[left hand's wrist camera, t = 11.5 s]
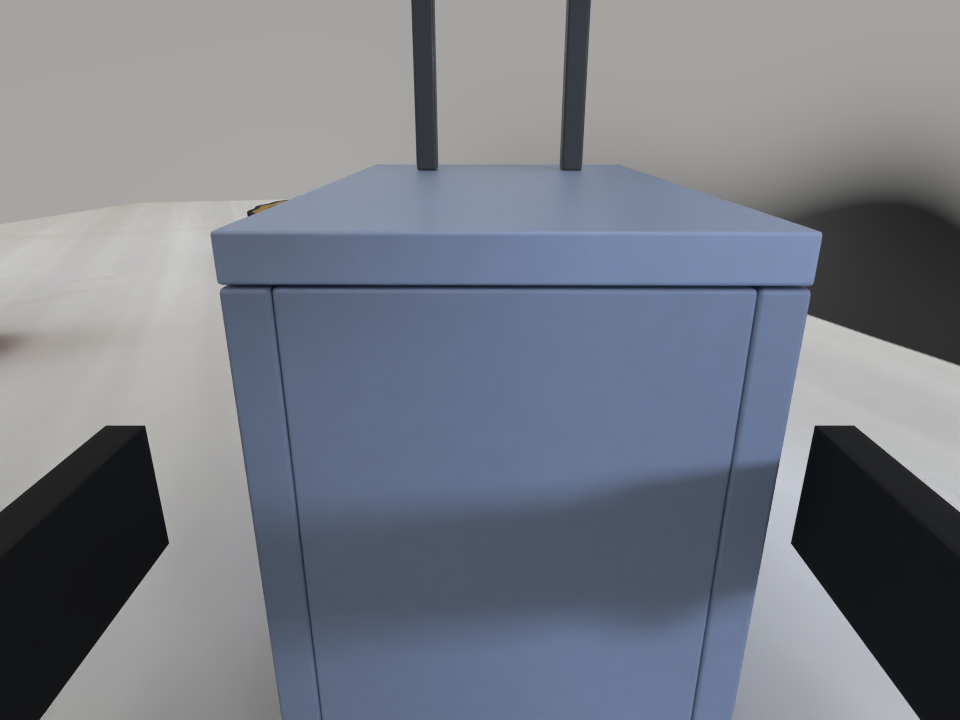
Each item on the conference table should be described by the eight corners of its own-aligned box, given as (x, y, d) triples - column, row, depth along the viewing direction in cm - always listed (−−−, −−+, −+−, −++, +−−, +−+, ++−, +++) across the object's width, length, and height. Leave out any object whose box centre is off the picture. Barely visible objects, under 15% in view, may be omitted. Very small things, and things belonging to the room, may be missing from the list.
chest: (387, 444, 29) (372, 190, 25) (603, 444, 29) (623, 191, 25) (287, 770, 14) (216, 288, 10) (723, 774, 14) (814, 290, 10)
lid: (376, 187, 26) (362, -59, 23) (618, 187, 25) (637, -60, 23) (215, 285, 10) (110, -427, 7) (815, 287, 10) (949, -432, 7)
